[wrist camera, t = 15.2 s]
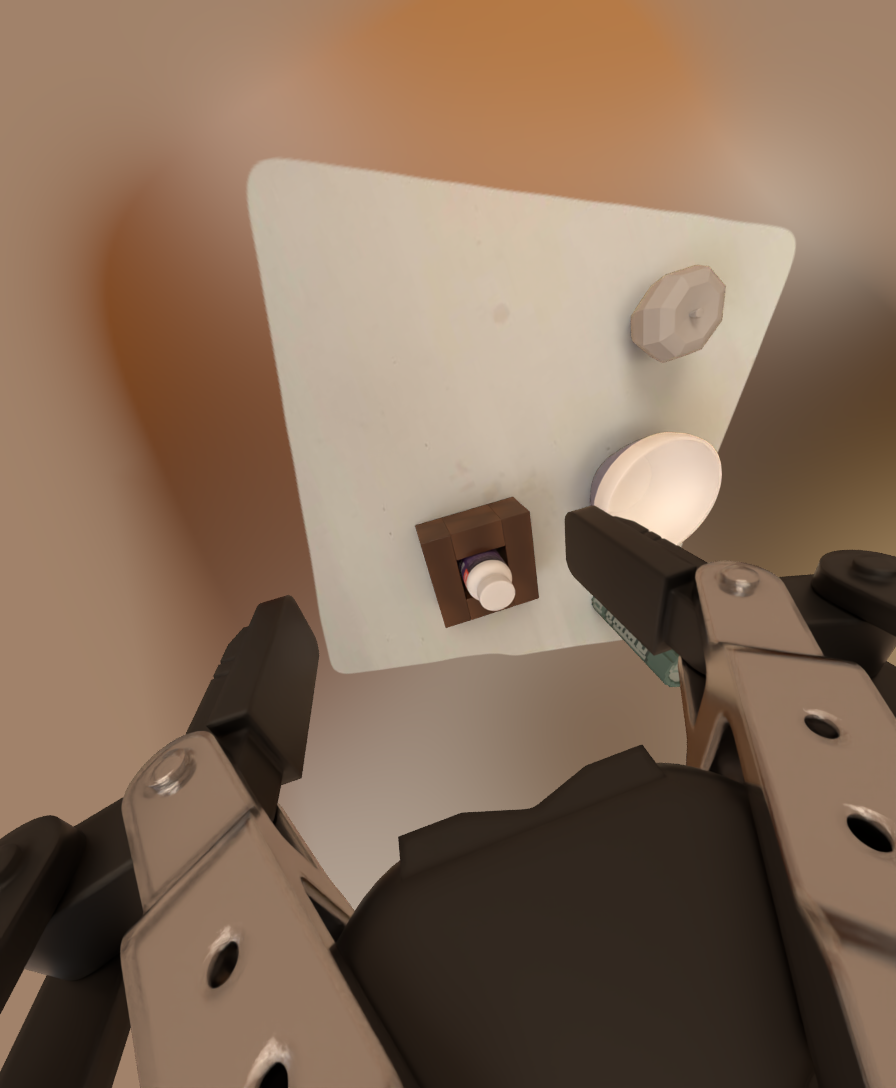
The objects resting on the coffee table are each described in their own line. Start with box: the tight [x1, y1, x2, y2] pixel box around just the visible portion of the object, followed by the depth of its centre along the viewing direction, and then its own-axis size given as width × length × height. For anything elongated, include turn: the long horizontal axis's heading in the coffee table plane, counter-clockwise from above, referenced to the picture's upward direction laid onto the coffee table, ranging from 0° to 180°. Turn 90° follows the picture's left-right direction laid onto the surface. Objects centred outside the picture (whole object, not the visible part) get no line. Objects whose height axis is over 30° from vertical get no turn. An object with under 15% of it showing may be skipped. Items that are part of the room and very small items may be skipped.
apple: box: [631, 265, 726, 363], centre depth 33 cm, size 8×8×7 cm
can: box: [592, 596, 680, 687], centre depth 47 cm, size 6×6×15 cm
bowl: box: [590, 432, 722, 545], centre depth 41 cm, size 14×14×8 cm
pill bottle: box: [457, 549, 515, 611], centre depth 40 cm, size 5×5×10 cm
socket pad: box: [415, 497, 539, 628], centre depth 43 cm, size 13×13×5 cm
